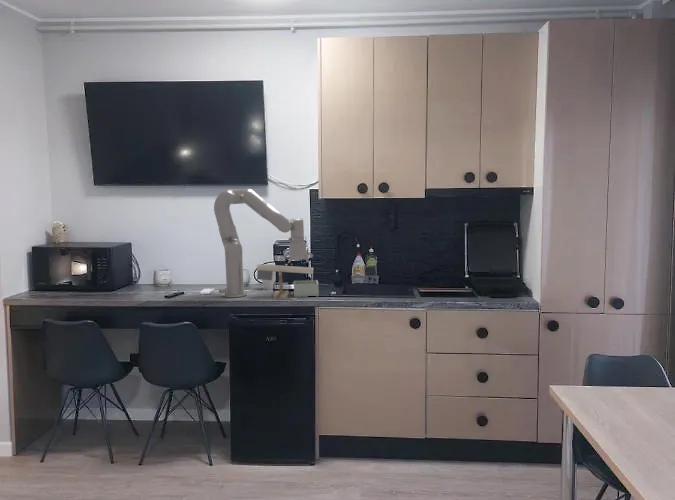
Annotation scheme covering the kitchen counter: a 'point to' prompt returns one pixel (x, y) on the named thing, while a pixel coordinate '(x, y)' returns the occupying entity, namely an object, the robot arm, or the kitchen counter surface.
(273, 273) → the foam cup
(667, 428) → the kitchen counter surface
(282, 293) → the lever stand
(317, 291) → the cup
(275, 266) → the tipping trough
